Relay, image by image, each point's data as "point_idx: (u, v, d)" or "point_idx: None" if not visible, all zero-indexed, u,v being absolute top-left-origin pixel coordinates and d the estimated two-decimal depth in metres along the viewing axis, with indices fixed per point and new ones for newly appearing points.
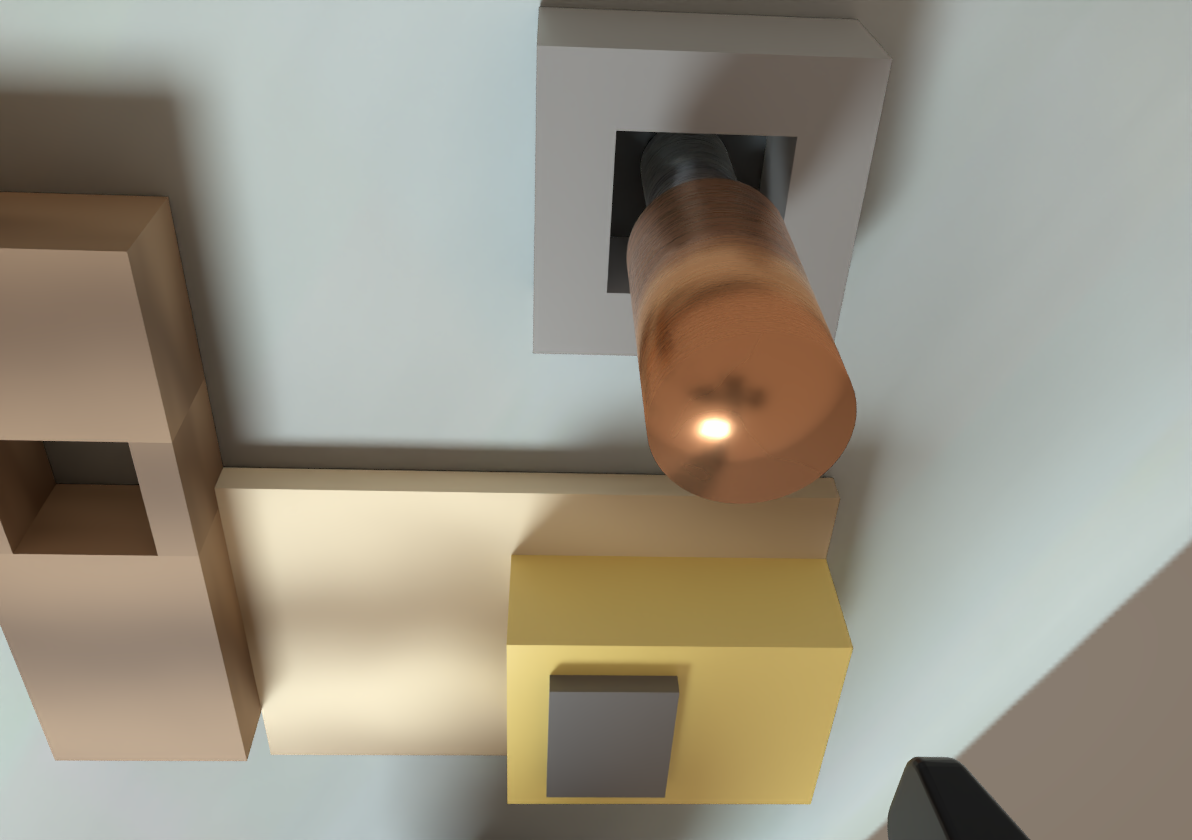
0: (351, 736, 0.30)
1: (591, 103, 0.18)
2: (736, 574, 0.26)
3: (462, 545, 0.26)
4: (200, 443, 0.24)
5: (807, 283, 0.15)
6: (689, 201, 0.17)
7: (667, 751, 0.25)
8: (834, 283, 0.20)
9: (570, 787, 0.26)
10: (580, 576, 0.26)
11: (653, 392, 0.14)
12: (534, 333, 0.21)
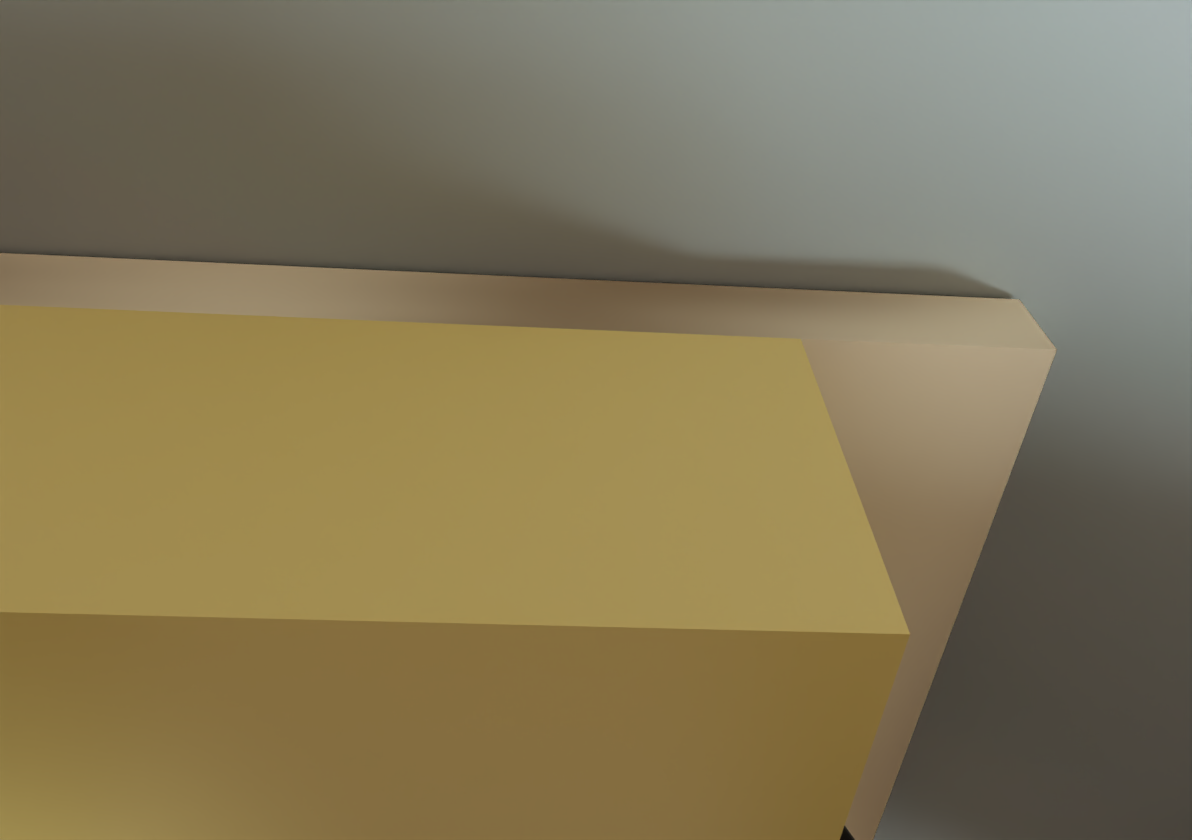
0: None
1: None
2: None
3: None
4: None
5: None
6: None
7: None
8: None
9: None
10: None
11: None
12: None
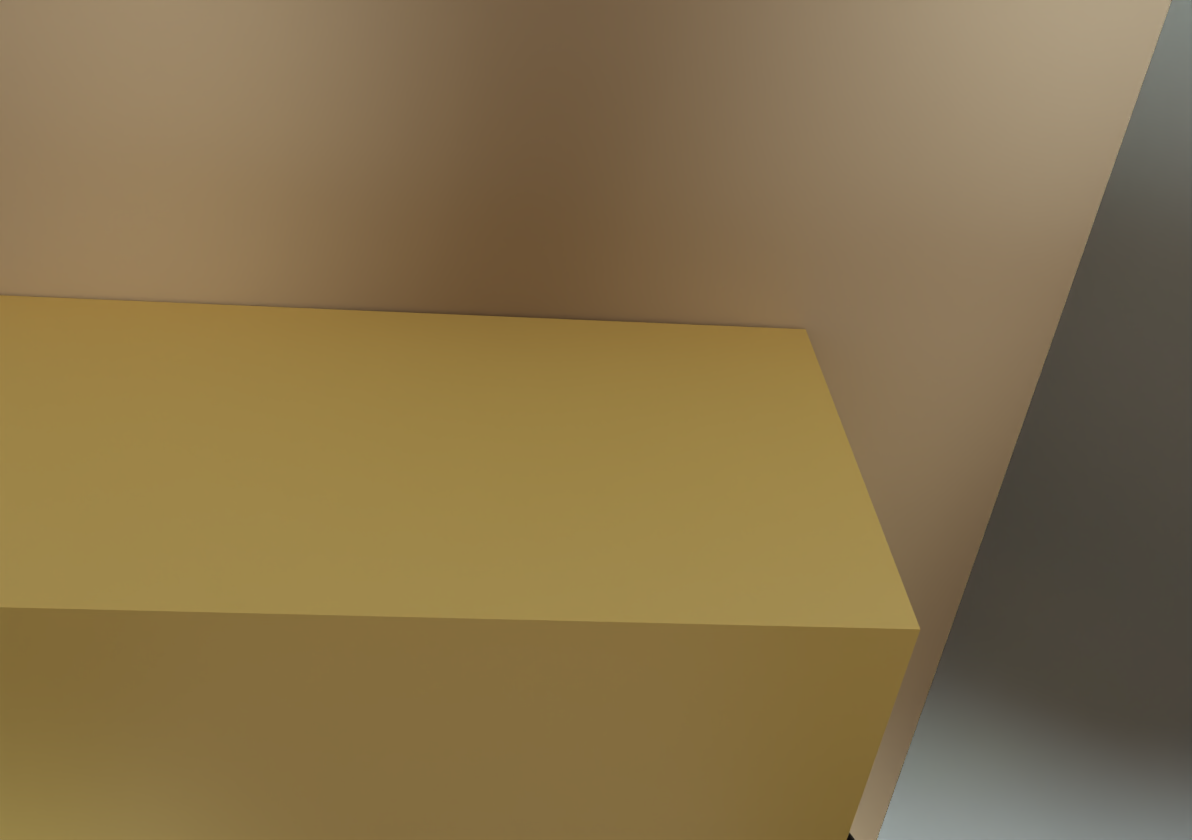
0: None
1: None
2: None
3: None
4: None
5: None
6: None
7: None
8: None
9: None
10: None
11: None
12: None
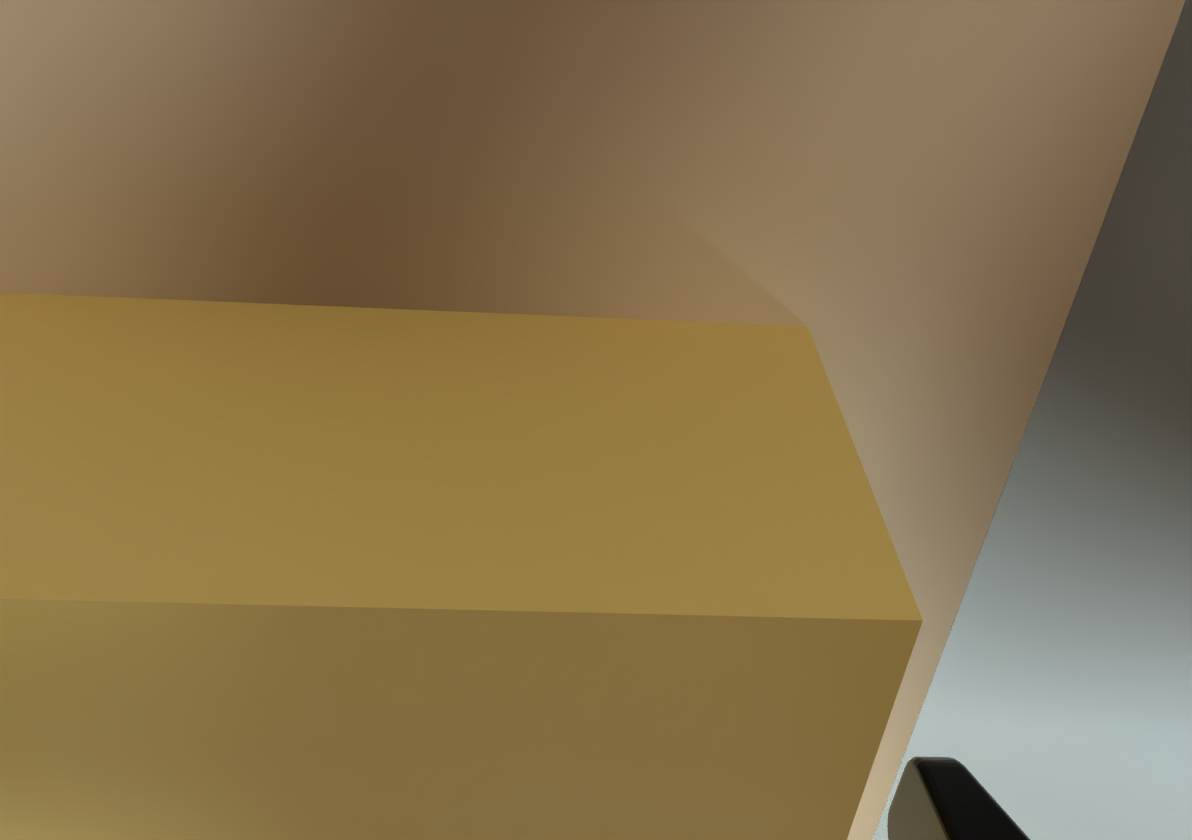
0: None
1: None
2: None
3: None
4: None
5: None
6: None
7: None
8: None
9: None
10: None
11: None
12: None
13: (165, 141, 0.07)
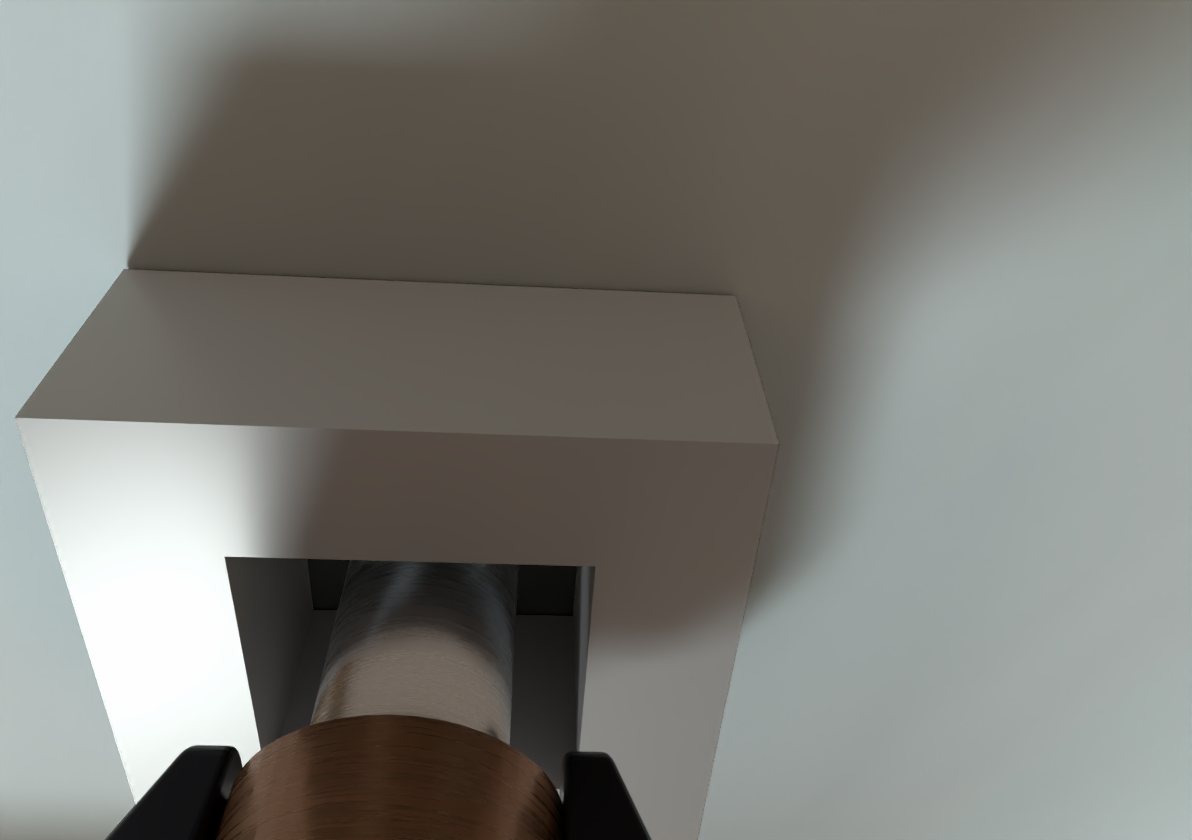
0: None
1: (160, 513, 0.09)
2: None
3: None
4: None
5: None
6: (303, 809, 0.07)
7: None
8: (690, 771, 0.11)
9: None
10: None
11: None
12: None
13: None
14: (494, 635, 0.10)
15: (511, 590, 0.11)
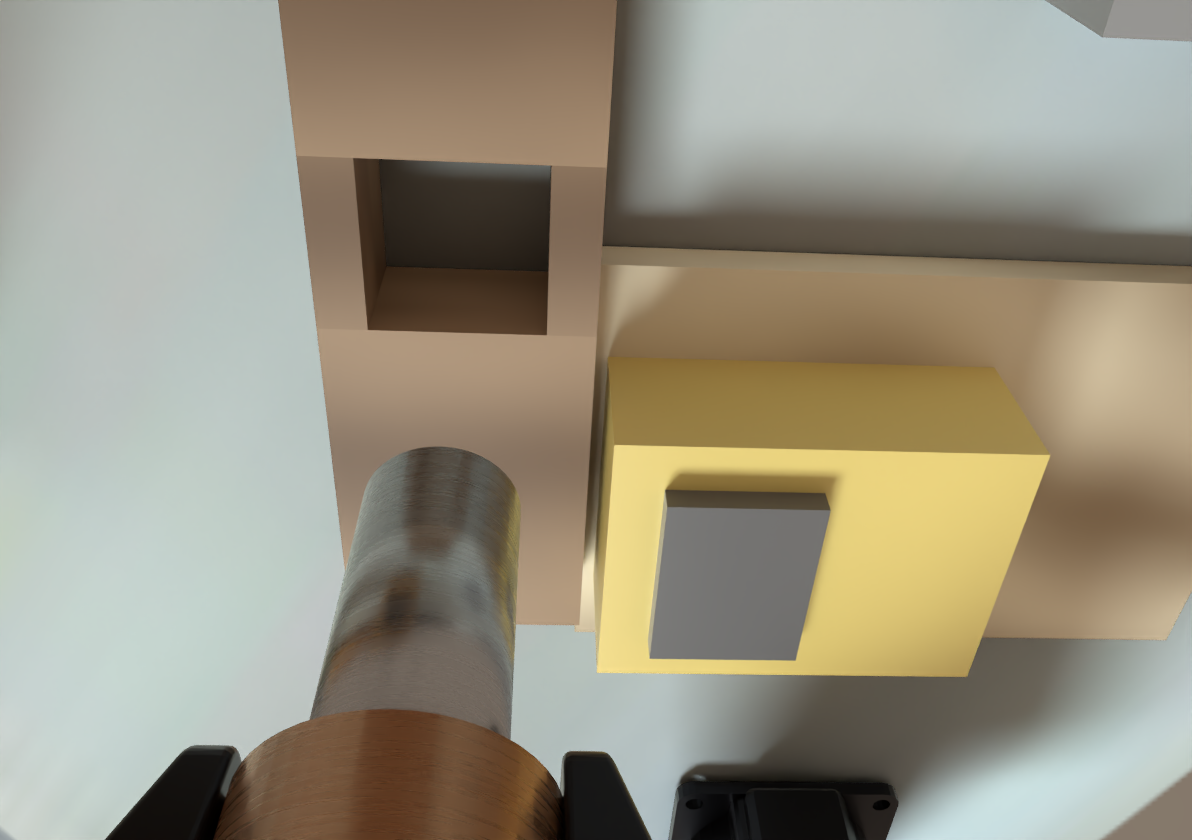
0: None
1: None
2: (888, 380, 0.21)
3: (876, 349, 0.21)
4: None
5: None
6: (302, 804, 0.07)
7: (806, 595, 0.20)
8: None
9: (680, 645, 0.21)
10: (696, 379, 0.21)
11: None
12: (1114, 5, 0.16)
13: None
14: (494, 630, 0.10)
15: (511, 585, 0.11)
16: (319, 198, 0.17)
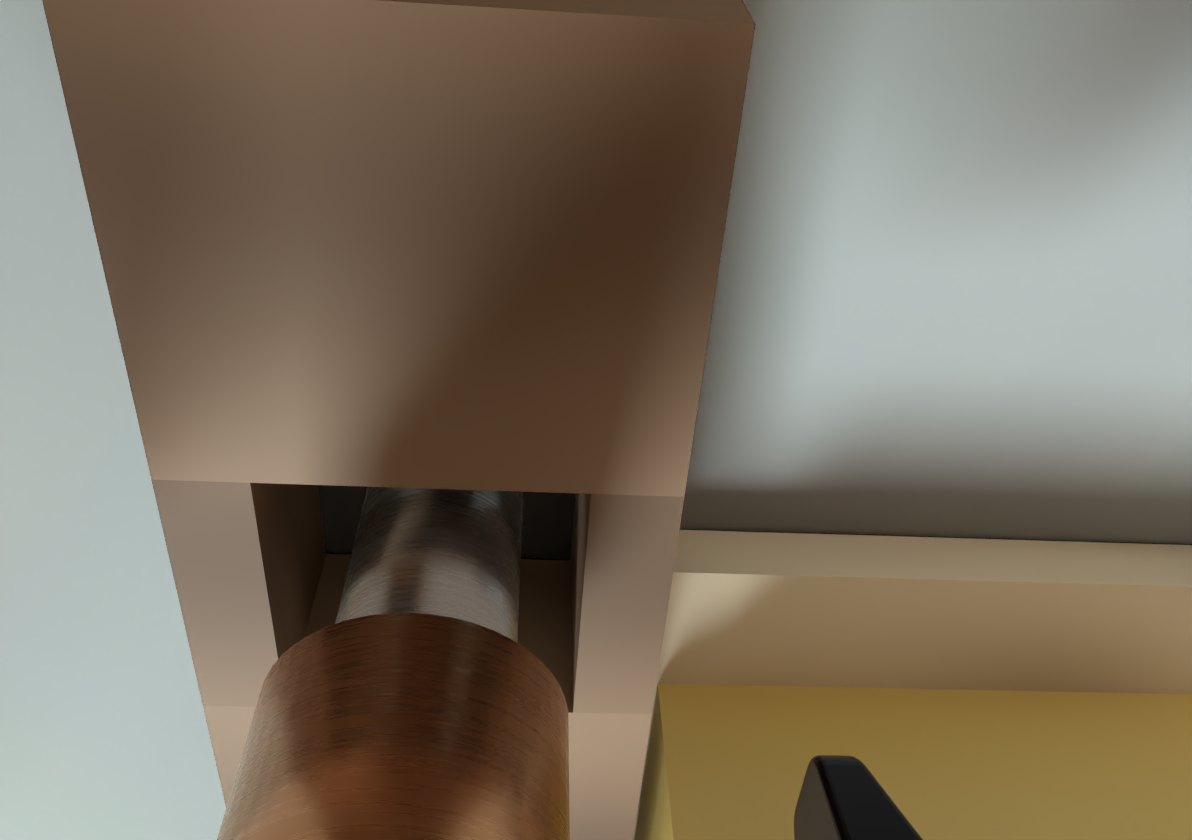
0: None
1: None
2: (1078, 727, 0.14)
3: (1056, 674, 0.14)
4: None
5: None
6: (332, 691, 0.08)
7: None
8: None
9: None
10: (793, 730, 0.14)
11: None
12: None
13: None
14: (501, 556, 0.11)
15: (517, 520, 0.11)
16: (195, 538, 0.10)
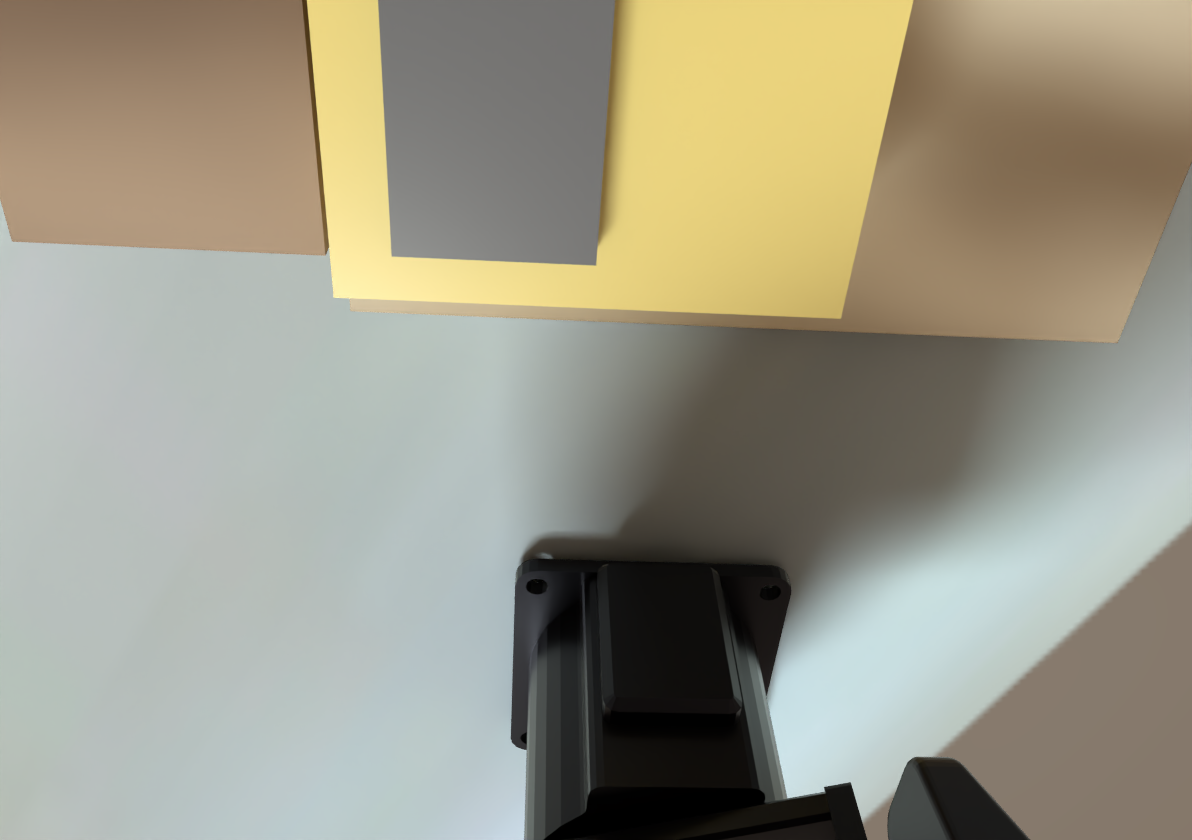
0: None
1: None
2: None
3: None
4: None
5: None
6: None
7: (598, 145, 0.14)
8: None
9: (431, 232, 0.15)
10: None
11: None
12: None
13: None
14: None
15: None
16: None
